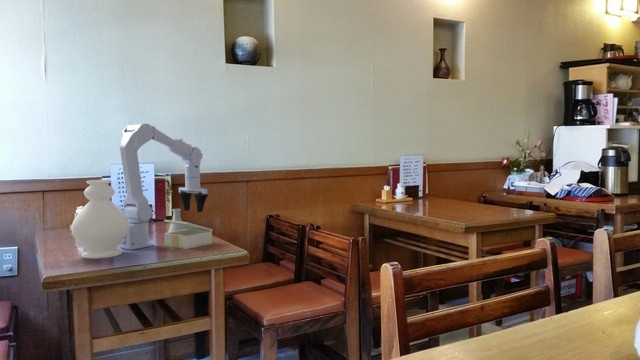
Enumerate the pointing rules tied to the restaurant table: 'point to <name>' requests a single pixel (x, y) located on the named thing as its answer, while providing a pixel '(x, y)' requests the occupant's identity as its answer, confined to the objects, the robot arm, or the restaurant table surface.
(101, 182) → the decorative vase
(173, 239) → the parcel box
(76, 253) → the restaurant table surface
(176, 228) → the flask
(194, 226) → the box lid
